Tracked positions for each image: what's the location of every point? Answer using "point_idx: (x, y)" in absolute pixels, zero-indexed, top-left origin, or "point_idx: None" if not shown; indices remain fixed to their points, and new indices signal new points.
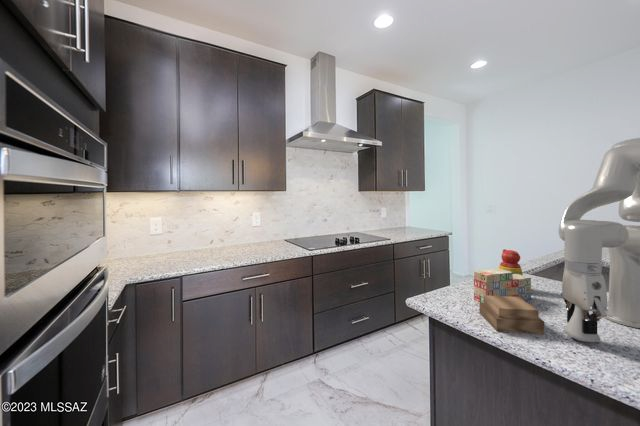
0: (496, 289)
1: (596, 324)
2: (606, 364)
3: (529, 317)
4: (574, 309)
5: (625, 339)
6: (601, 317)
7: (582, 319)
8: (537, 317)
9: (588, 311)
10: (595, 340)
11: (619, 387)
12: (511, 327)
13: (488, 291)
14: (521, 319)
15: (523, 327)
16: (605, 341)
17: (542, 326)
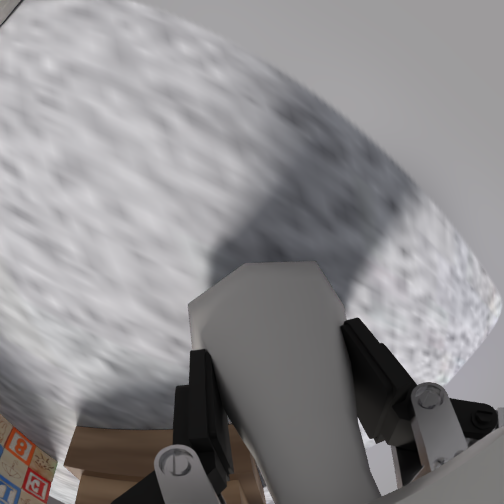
0: (8, 480)
1: (391, 364)
2: (438, 308)
3: (245, 499)
4: (223, 477)
5: (175, 53)
6: (499, 413)
7: (377, 442)
8: (240, 490)
9: (357, 462)
10: (337, 300)
11: (492, 322)
12: (261, 487)
13: (37, 495)
14: (256, 501)
15: (257, 475)
16: (242, 190)
17: (250, 454)
